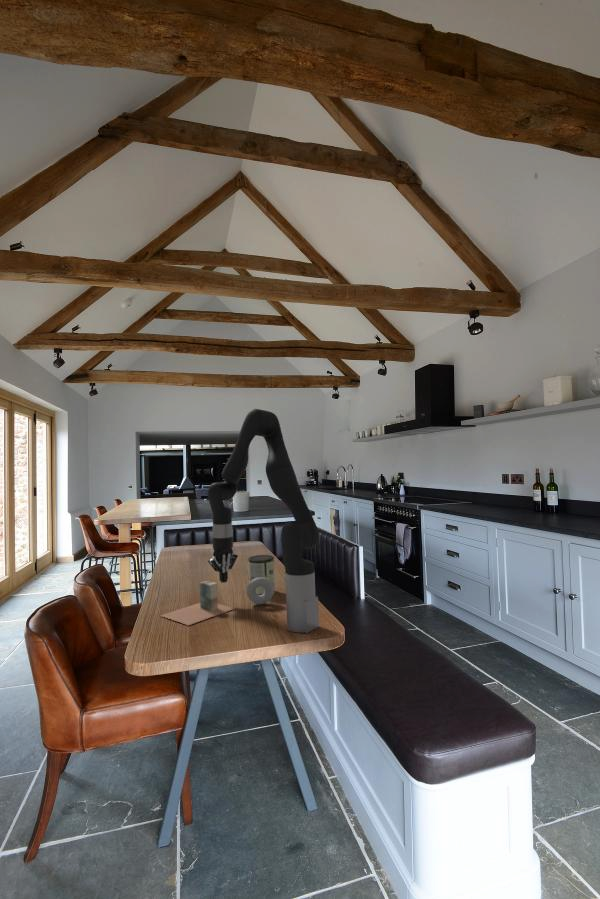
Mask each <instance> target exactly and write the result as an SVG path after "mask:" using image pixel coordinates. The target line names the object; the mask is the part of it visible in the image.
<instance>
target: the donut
mask: <svg viewBox="0 0 600 899" xmlns="http://www.w3.org/2000/svg"><path fill="white" fill-rule="evenodd" d="M258 587H263V588H264V589H265V592H264V594H262V595H257V594H256V589H257V588H258ZM273 592H274V588H273V585H272V583H271V582H270V581H269V580H268V579H266V578H264V577H258V578H255V579H253V580H252V581H251V582H250V583H248V585H247V587H246V596H247V598H248V600H249V601H250V602H251V603H252V604H254V605H265V604H267V603H269V601H271V600H272V598H273V596H274V594H273Z"/></svg>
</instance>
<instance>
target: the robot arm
mask: <svg viewBox="0 0 600 899" xmlns="http://www.w3.org/2000/svg"><path fill="white" fill-rule="evenodd" d="M256 436H257V437H262V438H263V439H264V440H265V444H266V446H267V452H268V455H267V460H266V464H265V475H266V477H267V480H268V483H269V487H270V489H271V491H272V492H273V494H275V496H277V498H278V499H279V500H280V501H281V502H282V503H284V505H285V506H286V507H287V509H289V511H290V512H291V514H292V517H293V520H294V521H289V522H288V521H287V522H286V523H284V524H283V526H282V528H281V532H280V533H281V534H280V541H281V543H280V544H281V553H282V554H281V555H282V562H283V565H284V571H285V572H284V574H285V602H286V603H285V608H286V610H285V611H286V627H287V628H286V629H287V630H288V631H290V632H293V633H304V632H305V634H308V633H310V632H312V631H314V630H316V629H318V628H320V620H319V619H320V616H319V597H318V595H317V596H316V580H315V578H316V577H315V576H316V575H315V563H314V562H313V561H312V560H309V559H304V558H303V552H302V551H304V550H305V551H306V550H310V549H313V548H315V547H316V546H317V545H318V543H319V540H320V535H319V534H320V533H319V530H318V527H317V523H316V521H315V519H314V517H313V516H312V513H311V511H310V509H309V506H308V504H307V502H306V501H305V497H304V495H303V492H302V490H301V488H300V484H299V481H298V479H297V475H296V473H295V470H294V469H295V468H294V467H293V463H292V462H291V460H290V457H289V453H288V450H287V448H286V445H285V440H284V437H283V432H282V428H281V424H280V421H279V418H278V416H277V415H276V414H275V413H273V412H271V411H269V410H263V409H260V408H253V409H251V410H249V412H248V413H247V414H246V415H245V418H244V421H243V423H242V425H241V428H240V432H239V434H238V436H237V440H236V443H235V445H234V447H233V450H232V453H231V455H230V456H229V458H228V460H227V463H226V464H225V465H224V467H223V469H222V472H221V478H222V479H223V480H224V481H220V482H213V483H211V484H210V485H209V486H208V489H207V499H208V502H209V505H210V509H211V513H212V535H211V536H212V548H213V549H212V550H213V553H212V557H211V559H209V558H208V560H207V562H208V564H209V565H210V566H211V568H212V569H213V570H214V571H215V572H217V573H219V582H220V583H227V582H228V579H229V571H230V570H231V569H233V567H234V565H235V563H236V561H237V558H238V557H239V556H238V554H237V553H234V550H233V548H234V531H233V530H234V529H233V528H234V527H233V523H232V522H233V519H232V516H233V514H232V509H231V508H230V507H227V506H225V503H224V502H225V501H230V500H232V498H234V496H235V495H236V493H237V492H238V490H237V489H238V486H239V483H240V479H241V478H242V476H243V474H244V472H245V471H246V469H247V467H248V463H249V448H250V444H251V442H252V441H253V439H254V438H255V437H256Z"/></svg>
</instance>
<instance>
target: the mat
mask: <svg viewBox="0 0 600 899" xmlns="http://www.w3.org/2000/svg"><path fill="white" fill-rule="evenodd" d="M231 610H232V611H235V610H236V608H235V607H231V606H228V605H225V604H224V605H223V604H222V603H221V604H220V603H218V608H217V609H215V610H212V611H211V610H207V609H204V608H201V607H200V602H197V603H195V604H192V605H188V606H186V607H182V608H179V609H177V610H173V611H170V612H167V613H164V614H161V615H160V616H161V617H160V618H162V617H165V618H168V619H171V620H174V621H177V622H180V623H182V624H181V625H183V624H185V625H184V626H186V625H187V626H186V627H190V626H189V625H191V626H193V625H192V624H194V625H195V623H196V624H198V623H197V622H199V623H201V622H200V621H202V622H204V621H206V620H205V619H207V620H209V619H208V618H210V619H212V618H211V617H213V618H215V617H218V616H220V614H221V615H224V614H227V613H228V611H229V612H231ZM217 615H218V616H217ZM165 618H164V619H165ZM168 619H167V620H168ZM171 620H170V621H171ZM203 620H204V621H203ZM174 621H173V622H174ZM177 622H176V623H177ZM180 623H179V624H180Z"/></svg>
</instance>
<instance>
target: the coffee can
mask: <svg viewBox="0 0 600 899" xmlns="http://www.w3.org/2000/svg"><path fill="white" fill-rule="evenodd" d="M274 559H275V557H274V555H271V554H258V555H253V556H249V557H248V560H247V561H248V578H249V579H248V580H249V583H250V582H251V581H252V580H253V579H255V578H258V577H264V578H266V579H268V580H269V581H270V582H271V583H272V585H273V588H274V592H273V595H274V594H275V593H276V586H275V564H274V563H275V562H274ZM249 583H248V584H249ZM264 592H265V589H264V588H263V587H258V588H257V589H256V594H257V595H262V594H264Z"/></svg>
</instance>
